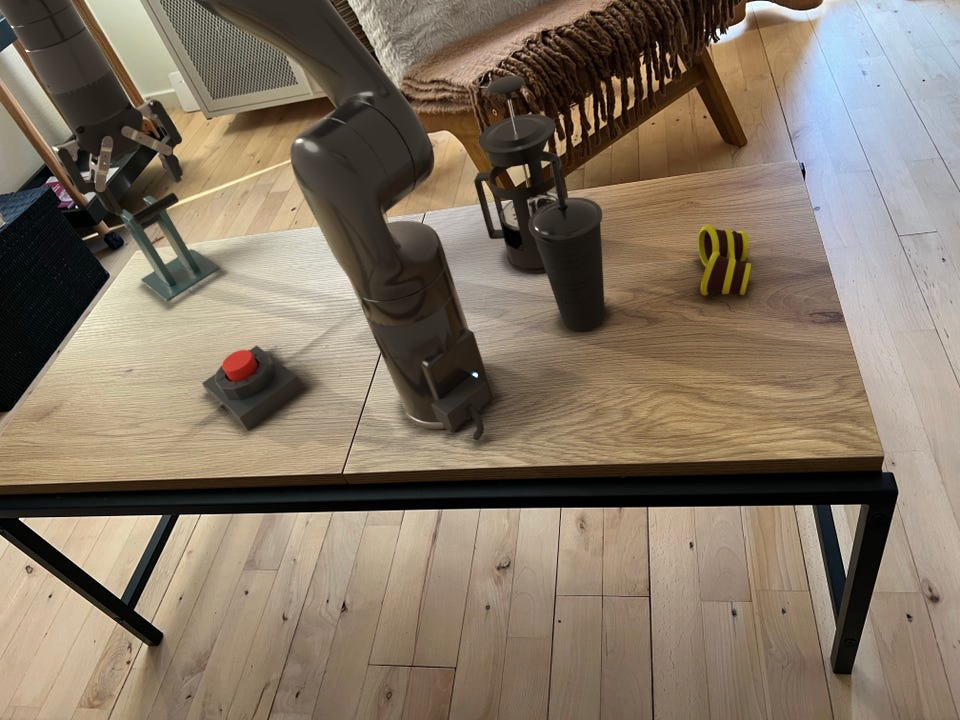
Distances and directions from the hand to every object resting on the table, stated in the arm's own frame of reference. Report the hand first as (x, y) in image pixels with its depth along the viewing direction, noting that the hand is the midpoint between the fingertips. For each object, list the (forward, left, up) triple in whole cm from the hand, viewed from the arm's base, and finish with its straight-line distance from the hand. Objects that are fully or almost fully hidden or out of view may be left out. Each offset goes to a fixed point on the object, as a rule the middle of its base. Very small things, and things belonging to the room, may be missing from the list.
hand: (148, 196), depth 101 cm
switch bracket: (+9, 0, -17) cm, 19 cm away
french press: (-36, -32, -17) cm, 51 cm away
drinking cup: (-50, -25, -17) cm, 58 cm away
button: (-25, +6, -13) cm, 29 cm away
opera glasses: (-59, -39, -17) cm, 73 cm away
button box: (-25, +6, -17) cm, 31 cm away
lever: (+4, 0, -5) cm, 7 cm away
